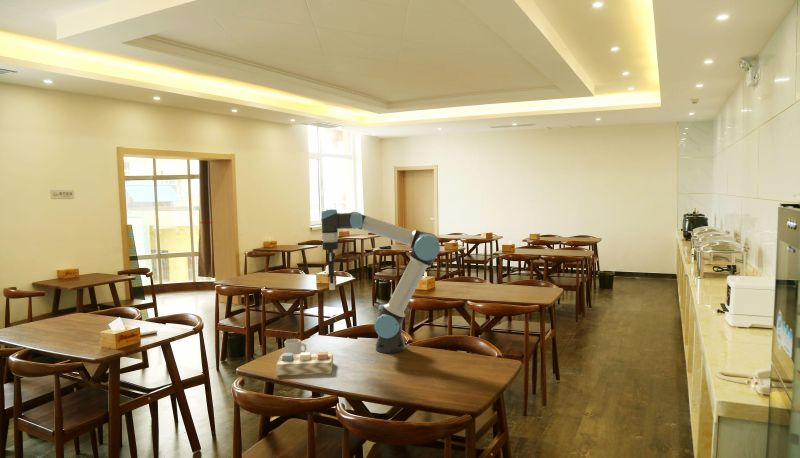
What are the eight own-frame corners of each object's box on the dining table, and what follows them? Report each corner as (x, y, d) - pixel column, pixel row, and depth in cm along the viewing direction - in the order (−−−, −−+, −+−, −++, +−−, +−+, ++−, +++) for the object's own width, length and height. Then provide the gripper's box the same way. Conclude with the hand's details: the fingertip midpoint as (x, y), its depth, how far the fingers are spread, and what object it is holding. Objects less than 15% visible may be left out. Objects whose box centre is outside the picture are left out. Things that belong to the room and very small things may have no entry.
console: (333, 363, 246) (332, 353, 245) (331, 373, 232) (330, 362, 231) (281, 365, 244) (281, 354, 244) (276, 375, 230) (276, 364, 230)
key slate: (293, 362, 240) (292, 352, 239) (291, 365, 235) (291, 355, 235) (283, 363, 239) (283, 353, 239) (282, 366, 235) (282, 355, 235)
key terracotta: (328, 361, 241) (327, 351, 240) (327, 364, 236) (327, 354, 236) (319, 362, 240) (318, 351, 240) (318, 365, 236) (317, 354, 236)
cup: (308, 354, 260) (308, 338, 259) (304, 359, 252) (303, 343, 251) (287, 354, 261) (287, 338, 260) (282, 359, 253) (282, 343, 253)
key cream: (310, 362, 240) (310, 352, 240) (309, 365, 236) (309, 354, 236) (301, 362, 240) (301, 352, 239) (300, 365, 236) (300, 355, 235)
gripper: (323, 240, 258) (325, 287, 260) (321, 242, 246) (323, 292, 247) (338, 239, 259) (340, 286, 261) (337, 242, 246) (339, 291, 248)
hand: (332, 289), depth 254 cm, fingers closed
